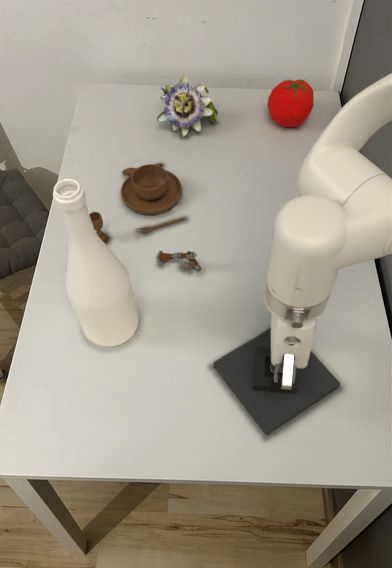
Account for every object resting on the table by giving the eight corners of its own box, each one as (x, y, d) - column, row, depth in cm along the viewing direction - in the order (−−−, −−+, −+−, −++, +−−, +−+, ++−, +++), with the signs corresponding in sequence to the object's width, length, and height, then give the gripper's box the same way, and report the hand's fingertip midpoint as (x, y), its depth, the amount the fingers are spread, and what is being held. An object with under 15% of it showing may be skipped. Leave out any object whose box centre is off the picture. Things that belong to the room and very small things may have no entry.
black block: (297, 356, 79) (298, 350, 77) (296, 394, 76) (298, 388, 74) (255, 352, 79) (256, 346, 78) (252, 390, 76) (253, 384, 74)
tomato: (257, 123, 109) (261, 87, 102) (284, 100, 113) (290, 63, 106) (293, 140, 106) (299, 104, 99) (319, 116, 110) (327, 79, 103)
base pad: (282, 324, 83) (284, 314, 81) (338, 387, 78) (343, 378, 75) (213, 366, 80) (213, 356, 77) (266, 435, 74) (268, 428, 71)
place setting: (196, 217, 96) (195, 194, 91) (96, 249, 93) (89, 226, 88) (165, 160, 104) (163, 136, 99) (72, 187, 101) (65, 163, 96)
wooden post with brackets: (203, 273, 88) (192, 255, 85) (166, 273, 92) (155, 256, 89) (206, 265, 89) (196, 247, 86) (170, 266, 93) (159, 249, 90)
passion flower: (186, 155, 113) (152, 125, 103) (180, 117, 116) (147, 85, 107) (228, 130, 107) (196, 96, 97) (221, 90, 110) (189, 54, 101)
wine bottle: (77, 311, 86) (18, 172, 60) (130, 295, 87) (95, 151, 61) (91, 356, 81) (34, 227, 55) (146, 338, 83) (117, 203, 57)
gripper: (330, 357, 54) (307, 415, 69) (328, 236, 63) (308, 311, 78) (261, 351, 55) (252, 410, 70) (268, 232, 63) (259, 307, 78)
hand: (281, 358), depth 74 cm, fingers open, 9 cm apart
